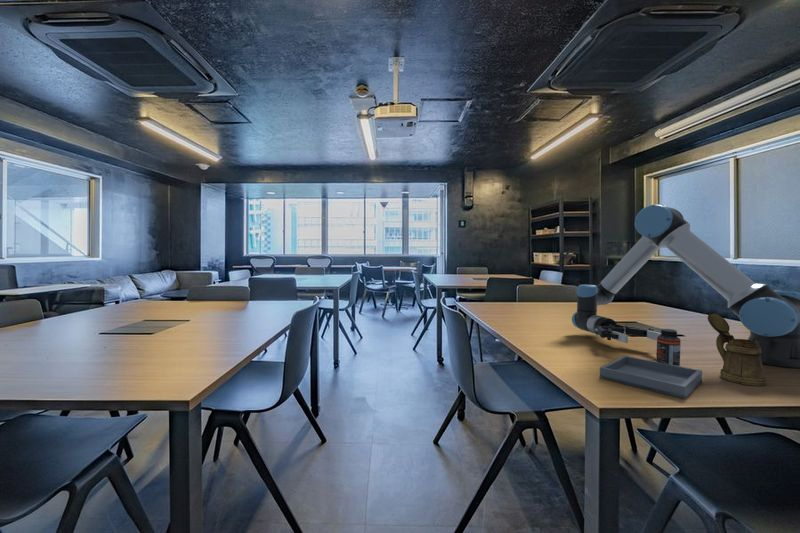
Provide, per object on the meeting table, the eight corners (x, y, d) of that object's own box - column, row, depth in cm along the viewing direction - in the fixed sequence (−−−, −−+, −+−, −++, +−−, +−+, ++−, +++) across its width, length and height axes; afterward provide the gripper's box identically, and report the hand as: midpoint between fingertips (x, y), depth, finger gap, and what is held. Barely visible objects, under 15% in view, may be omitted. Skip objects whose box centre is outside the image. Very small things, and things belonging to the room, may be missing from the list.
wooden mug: (720, 369, 108) (721, 310, 107) (775, 385, 95) (777, 318, 94) (696, 371, 106) (698, 311, 106) (748, 387, 93) (751, 319, 92)
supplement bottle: (651, 362, 114) (652, 327, 114) (668, 362, 114) (669, 327, 114) (666, 368, 108) (667, 331, 108) (685, 368, 108) (686, 331, 108)
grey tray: (702, 381, 97) (702, 370, 97) (684, 399, 85) (685, 386, 85) (624, 364, 112) (624, 355, 112) (599, 378, 100) (599, 367, 99)
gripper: (630, 334, 142) (678, 348, 121) (572, 336, 140) (610, 350, 118) (631, 316, 142) (678, 326, 121) (573, 317, 139) (611, 328, 118)
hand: (645, 338), depth 120 cm, fingers open, 13 cm apart
